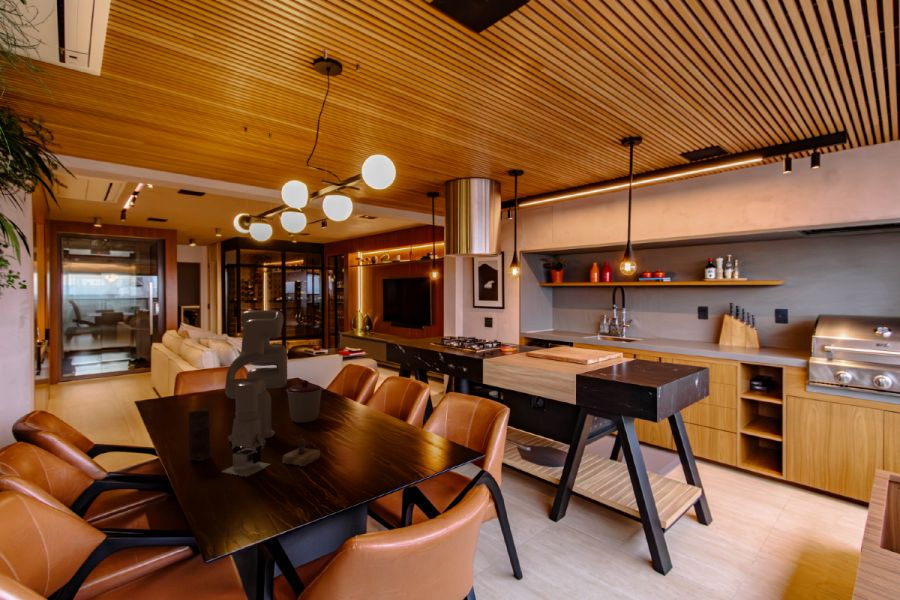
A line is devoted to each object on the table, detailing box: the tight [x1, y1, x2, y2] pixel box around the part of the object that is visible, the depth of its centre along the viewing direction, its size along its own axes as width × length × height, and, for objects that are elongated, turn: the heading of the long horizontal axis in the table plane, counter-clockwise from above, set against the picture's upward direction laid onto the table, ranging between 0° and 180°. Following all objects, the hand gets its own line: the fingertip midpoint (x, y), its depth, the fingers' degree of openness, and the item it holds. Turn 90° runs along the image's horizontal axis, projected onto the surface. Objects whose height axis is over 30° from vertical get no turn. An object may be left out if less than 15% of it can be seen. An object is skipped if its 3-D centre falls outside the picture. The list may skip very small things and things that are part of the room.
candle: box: [188, 407, 212, 462], centre depth 172 cm, size 8×7×20 cm
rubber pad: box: [220, 461, 272, 478], centre depth 163 cm, size 12×12×1 cm
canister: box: [286, 380, 324, 424], centre depth 226 cm, size 18×18×21 cm
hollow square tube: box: [232, 447, 261, 472], centre depth 163 cm, size 7×7×6 cm
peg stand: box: [282, 438, 321, 467], centre depth 171 cm, size 10×10×8 cm
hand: (246, 460), depth 163 cm, fingers open, 9 cm apart
